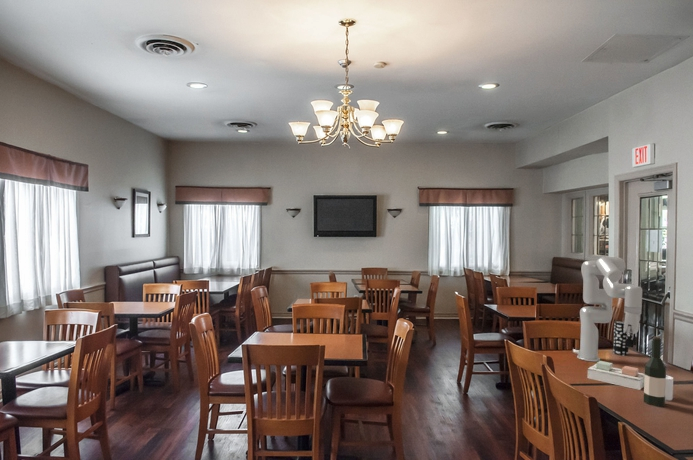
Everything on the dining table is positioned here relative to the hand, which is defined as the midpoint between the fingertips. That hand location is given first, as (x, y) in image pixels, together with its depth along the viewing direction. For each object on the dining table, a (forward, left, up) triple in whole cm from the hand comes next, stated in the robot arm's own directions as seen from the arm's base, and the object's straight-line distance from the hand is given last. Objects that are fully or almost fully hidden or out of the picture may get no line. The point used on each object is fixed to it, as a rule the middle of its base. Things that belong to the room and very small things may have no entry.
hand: (631, 345), depth 245 cm
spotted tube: (-20, +65, -20) cm, 71 cm away
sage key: (-12, 0, -15) cm, 19 cm away
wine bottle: (+15, -23, -20) cm, 34 cm away
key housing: (-6, 0, -20) cm, 20 cm away
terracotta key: (0, 0, -15) cm, 15 cm away
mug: (+15, -9, -20) cm, 26 cm away
